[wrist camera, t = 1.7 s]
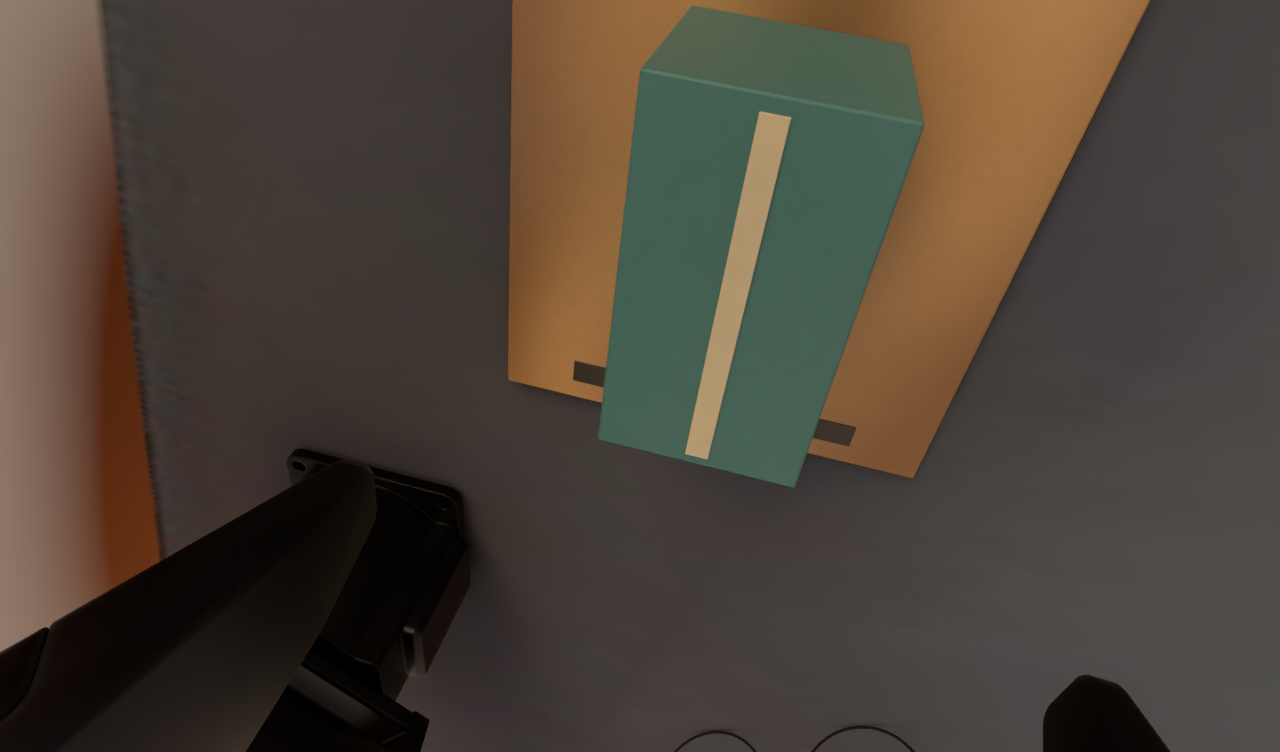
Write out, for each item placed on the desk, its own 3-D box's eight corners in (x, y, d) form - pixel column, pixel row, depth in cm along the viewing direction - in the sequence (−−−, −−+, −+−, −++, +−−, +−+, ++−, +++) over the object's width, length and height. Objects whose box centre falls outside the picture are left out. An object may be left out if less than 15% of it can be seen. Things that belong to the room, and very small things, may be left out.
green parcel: (806, 364, 20) (794, 491, 16) (643, 327, 20) (596, 442, 17) (910, 44, 15) (927, 124, 11) (690, 3, 15) (638, 68, 12)
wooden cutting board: (513, 370, 23) (506, 381, 22) (522, -211, 14) (512, -211, 14) (912, 467, 22) (913, 481, 21) (1192, -105, 13) (1203, -102, 13)
